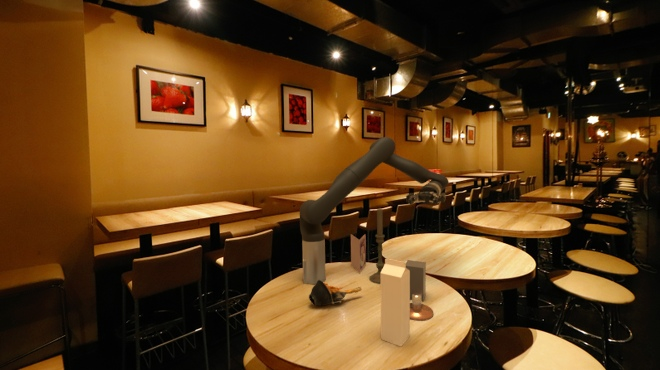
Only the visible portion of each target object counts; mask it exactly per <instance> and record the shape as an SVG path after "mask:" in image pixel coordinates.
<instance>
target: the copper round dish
mask: <svg viewBox="0 0 660 370" xmlns="http://www.w3.org/2000/svg"><path fill="white" fill-rule="evenodd" d="M433 317H434V310H433V309H432V308H431V307H430V306H429V305H426V304H424V303H422V301H421V294H419V293H413V294H412V301H411V302H410V320H413V321H418V322H420V321H421V322H423V321H428V320H431V319H432V318H433Z"/></svg>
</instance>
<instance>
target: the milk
mask: <svg viewBox="0 0 660 370" xmlns="http://www.w3.org/2000/svg"><path fill="white" fill-rule="evenodd" d="M380 275H381V284H380V339H381V340H382V341H385V342H388V343H391V344H393V345H395V346H398V347H403V345H404V344H405V343H406V342H407V341H408V339H409V338H410V336H411V335H410V334H411V331H410V330H411V326H410V325H411V324H410V323H411V319H410V303H411V302H410V270H408V269H407V268H406V261H403V260H401V261H400V260H396V259H392V258H391V259H390V258H385V259H384V267H383V269H382V271H381V273H380Z"/></svg>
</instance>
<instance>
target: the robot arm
mask: <svg viewBox="0 0 660 370" xmlns="http://www.w3.org/2000/svg"><path fill="white" fill-rule="evenodd" d="M395 151H396V142H395V141H394V139H393V138H391V137H388V136H383V137H380V138H378V139H377V140H374V142H372V143H371V144H370V145H369V150H368V151H367V152H366V153H365V154H363V156H361V157H360V158H358V159H356V160H355V161H354V162H352V163H351V164H349V165H348V166H347V167H345V168H344V169H343V170H342V171H341V172H339V174H338V175H337V176H336V177H335V178H334V180H333V182H332V183H331V185H330V187H329V189H328V190H326V191H325V192H324V194H322V195H321V196H320V197H319V198H317V199H316V200H315V199H308V200H305V201H304V202H303V203H302V204H301V205H300V208H299V231H300V234H301V240H302V243H301V245H302V281H303V284H309V285H310V284H311V285H315V284H316V283H317V281H318V280H320V281H322V282H323V283H325V281H326V246H325V245H326V242H325V238H326V237H325V232H324V230H323V227H322V223H323V222H324V221H325V220H326V219H327V218H328V216H329V215H330V214H331V213H332V212H333V211H334V209H336V207H337V206H338V205H339V204H340V203H341V202H342V201H343V200H345V199H346V198H347V197H348V196H349V195H350V194H351V193H352V192H354V191H355V190H356V189H357V188H358V187H359V186H360V185H362V183H363V182H364V181H365V180H366V179H367V178H368V177H369V176H370V175H371V174H372V172H374V170H375V169H376V168H377V167H378V166H379V165H381V164H382V163H384V164H386V165H388V166H390V167H392V168H393V169H396V170H397V171H400V172H401V173H403V174H405V175H406V176H408V177H410V178H411V179H413V180H414V181H416V182H417V183H419V184H424V185H423V186H422V187H421V188H420V189H419V191H418V192H417V193H413V192H410V193H408V194H406V195H405V197H406V199H405V200H406V203H408V204H409V205H411V206H412V205H413V204H414V203H418V204H419V203H424V204H427V205H431V204H432V205H433V206H435V205H436V204H437V205H438V204H439V203H442V204H443V203H445V201H446V193H445V192H443V191H444V190H445V189H446V188H447V186H448V185H449V183H450V182H449V179H448V178H447V177H446V175H443V174H441V173H438V172H435V171H432V170H429V169H427V168H425V166H422V165H421V164H420V163H417V162H416V161H413V160H411V159H407V158H405V157H403V156H400V155H398V154H396V152H395ZM428 181H429V182H428ZM425 183H426V184H425Z"/></svg>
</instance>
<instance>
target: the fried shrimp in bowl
mask: <svg viewBox="0 0 660 370" xmlns="http://www.w3.org/2000/svg"><path fill="white" fill-rule="evenodd" d="M343 288H344V287H342V286H340V287H337V286H333V285H329V284H328V283H327V282H322V281H320V280H318V281H317V283H316V284H313V287H312V288H311V292H310V293H309V295H308V299H309V301H310V302H311V304H312V305H313V306H314V307H316V306H327V305H328V304H329V305H339V304H340V303H342V300H344V299H345V297H346V295H347V294H350V295H351V294H353V293H356V294H357V293H358V292H361V291H362V289H363V288H362V287H361V286H360V287H354V288H350V289H346V290H341V289H343Z"/></svg>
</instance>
